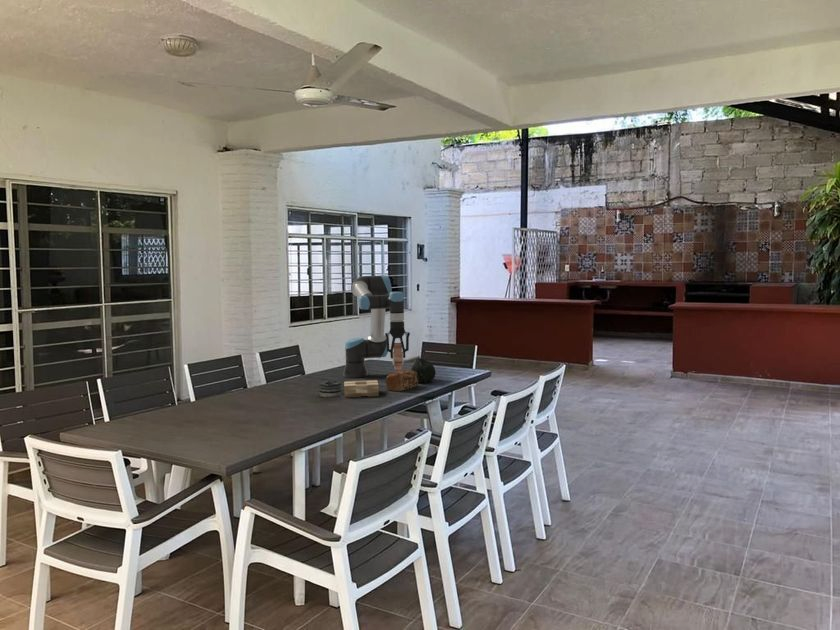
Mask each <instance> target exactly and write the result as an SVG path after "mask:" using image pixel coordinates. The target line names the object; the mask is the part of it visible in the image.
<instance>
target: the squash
mask: <svg viewBox="0 0 840 630" xmlns="http://www.w3.org/2000/svg"><path fill="white" fill-rule="evenodd" d="M410 370H411V371H415V372H417V373H418V384H421V383H424V384H427V383H431V382H433V380H434V379H435V377H436V374H437V373H436V369H435V366H434V365H433V364H432V363H431V362H430V361H428V360H426V359H424V358H421V357H420V358H418V359H417V360H416V361H415V362H414V363H413V365H412V366H411V369H410Z"/></svg>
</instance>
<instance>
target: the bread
mask: <svg viewBox="0 0 840 630" xmlns="http://www.w3.org/2000/svg"><path fill="white" fill-rule="evenodd" d="M385 378H386V379H385V384H386V390H388V391H391V390H392V392H402V391H407V390H410V389H413V388H414V387H417V386H418V384H419V383H418V373H417V372H415V371H411V369H405V370H403V369H402V370H396V371H394V372H392V373H390V374H388V375H387V376H386V377H385ZM412 387H413V388H412ZM409 388H410V389H409ZM406 389H407V390H406Z"/></svg>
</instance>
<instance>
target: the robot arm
mask: <svg viewBox="0 0 840 630" xmlns="http://www.w3.org/2000/svg"><path fill="white" fill-rule="evenodd" d="M350 291H351V293H352V294H353V295H354V296H355V297H357V298H358V308H359V309H360V310H370V331H369V332H370V334H369V335H367V339H365V338H364V337H354V338H350V339H347V340H346V341H345V342H344V343H345V347H344V349H345V365H344V369H343V373H342V374H343V377H344V378H348V379H349V378H350V379H351V378H352V379H359V378H364V377H368V373H369V372H368V369H367V367H366V366H367V365H366V363H365V359H380V358H386V357H387V356H388V353H389V355H390V359H392V365H393V366H394V343H396V342H395V341H396V339H399V341H400V343H401V344H402V366H403V365H404V359H406V353H407V352H409V349H410V348H409V347H410V342H409V341H410V334H411V332H409V331H406V329H405V321H404V320H405V308H404V307H405V305H404V304H405V302H404V299H405V296H404V292H403V291H392V283H391V279H390V277H389V276H388V275H365V276H364V275H363V276H360V277H359V276H358V277H357V278H356V279H354V280H353V282H352V283H351V286H350ZM388 309H389V320H390V322H389V327H390V328H389V331H388V332H385V325H386V324H385V322H386V310H388ZM390 336H391V337H392V339H391V345H390V339H389V338H390ZM404 336H405V344H404V341H403V337H404Z"/></svg>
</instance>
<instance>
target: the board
mask: <svg viewBox="0 0 840 630" xmlns="http://www.w3.org/2000/svg"><path fill="white" fill-rule="evenodd" d="M343 384H344V385H343V386H344V387H343V389H344V392H343V393H344V398H345V397H346V398H362V397H361V396H368V397H379V396H380V393H379V391H380V389H379V382H378V379H369V380H366V379H365V380H346V381H344V382H343Z"/></svg>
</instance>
